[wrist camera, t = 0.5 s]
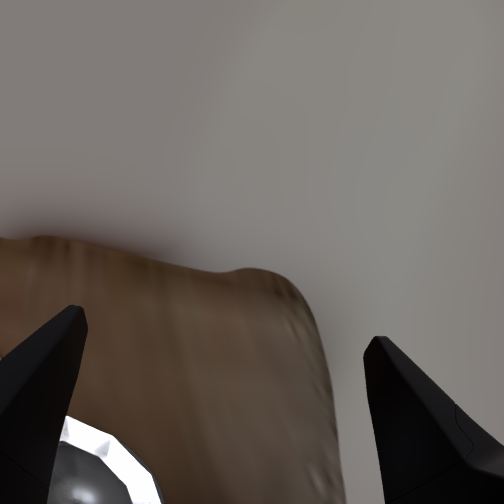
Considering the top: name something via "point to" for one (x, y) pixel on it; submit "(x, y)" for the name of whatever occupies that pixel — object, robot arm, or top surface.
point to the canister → (99, 470)
